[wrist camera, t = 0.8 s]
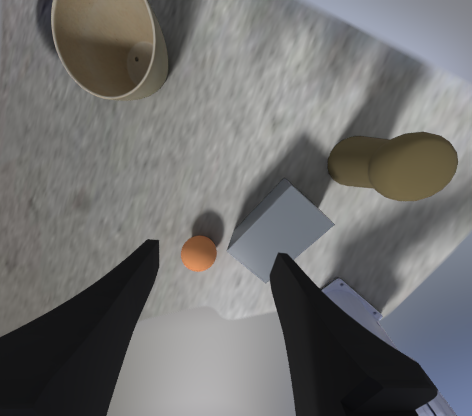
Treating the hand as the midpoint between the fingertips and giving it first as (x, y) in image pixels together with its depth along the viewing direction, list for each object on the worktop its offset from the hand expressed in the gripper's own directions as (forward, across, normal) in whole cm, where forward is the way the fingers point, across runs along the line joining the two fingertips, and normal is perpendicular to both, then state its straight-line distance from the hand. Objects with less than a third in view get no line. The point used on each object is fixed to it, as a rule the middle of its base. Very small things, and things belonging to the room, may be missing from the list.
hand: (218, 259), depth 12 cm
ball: (+12, +2, +11) cm, 16 cm away
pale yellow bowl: (+21, +11, -10) cm, 26 cm away
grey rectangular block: (+14, -8, +5) cm, 17 cm away
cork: (+14, -16, -5) cm, 22 cm away
